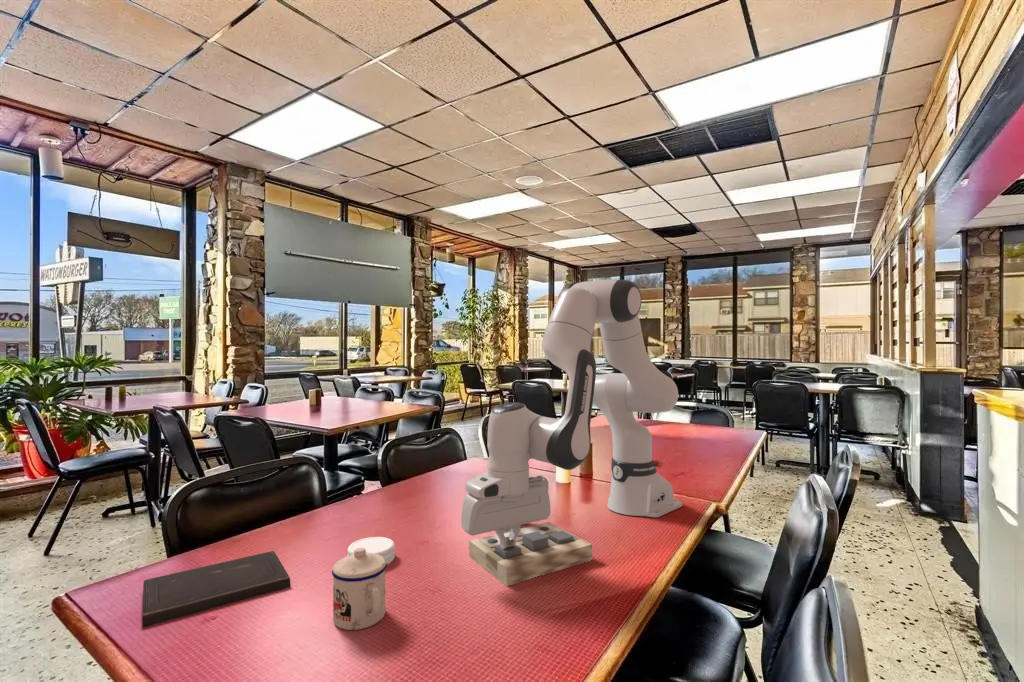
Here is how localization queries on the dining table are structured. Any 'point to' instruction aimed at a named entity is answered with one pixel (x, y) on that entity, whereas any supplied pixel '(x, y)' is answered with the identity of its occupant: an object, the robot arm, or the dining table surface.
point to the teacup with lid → (359, 590)
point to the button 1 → (508, 552)
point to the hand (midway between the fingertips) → (507, 547)
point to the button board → (529, 555)
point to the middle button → (535, 541)
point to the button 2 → (560, 537)
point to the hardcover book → (211, 587)
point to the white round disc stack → (375, 547)
